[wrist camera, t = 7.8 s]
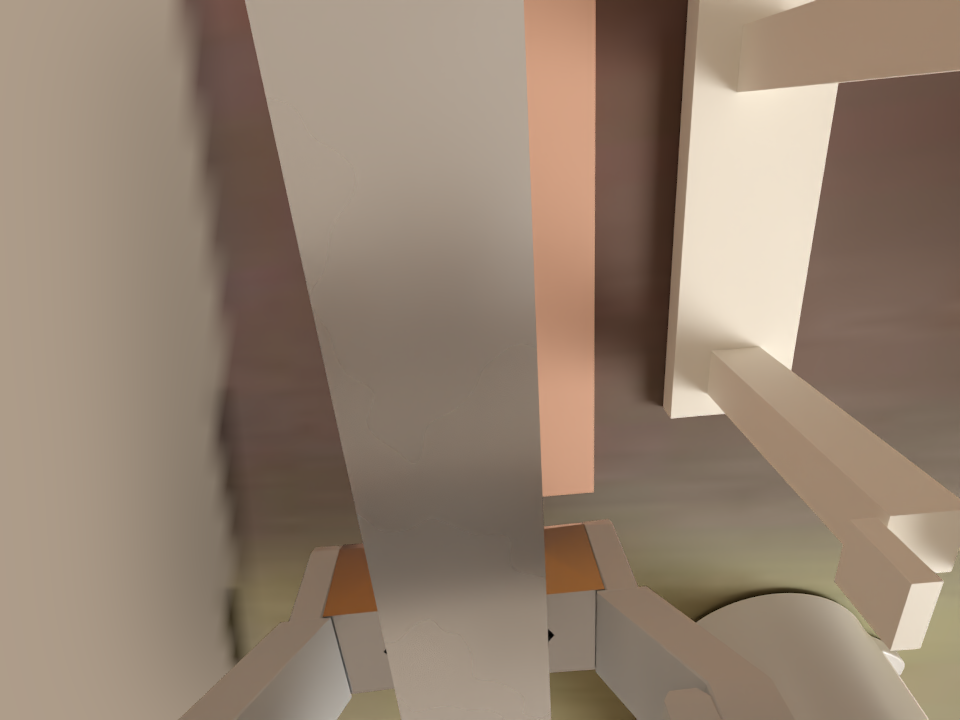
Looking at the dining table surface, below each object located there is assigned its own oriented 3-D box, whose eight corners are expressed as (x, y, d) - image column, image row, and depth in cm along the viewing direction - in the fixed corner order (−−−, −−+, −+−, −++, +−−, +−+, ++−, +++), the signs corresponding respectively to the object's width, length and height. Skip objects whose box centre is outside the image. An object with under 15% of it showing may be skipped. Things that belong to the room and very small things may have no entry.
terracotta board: (589, 481, 32) (593, 492, 31) (383, 499, 32) (381, 510, 31) (589, -10, 22) (595, -15, 21) (293, 17, 22) (285, 12, 21)
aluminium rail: (543, 827, 15) (560, 954, 12) (453, 836, 15) (454, 965, 12) (491, -131, 6) (513, -261, 4) (283, -115, 6) (192, -238, 4)
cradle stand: (772, 397, 30) (1074, 667, 15) (663, 407, 30) (858, 685, 15) (836, -17, 22) (1576, -288, 7) (688, -4, 22) (1134, -247, 7)
